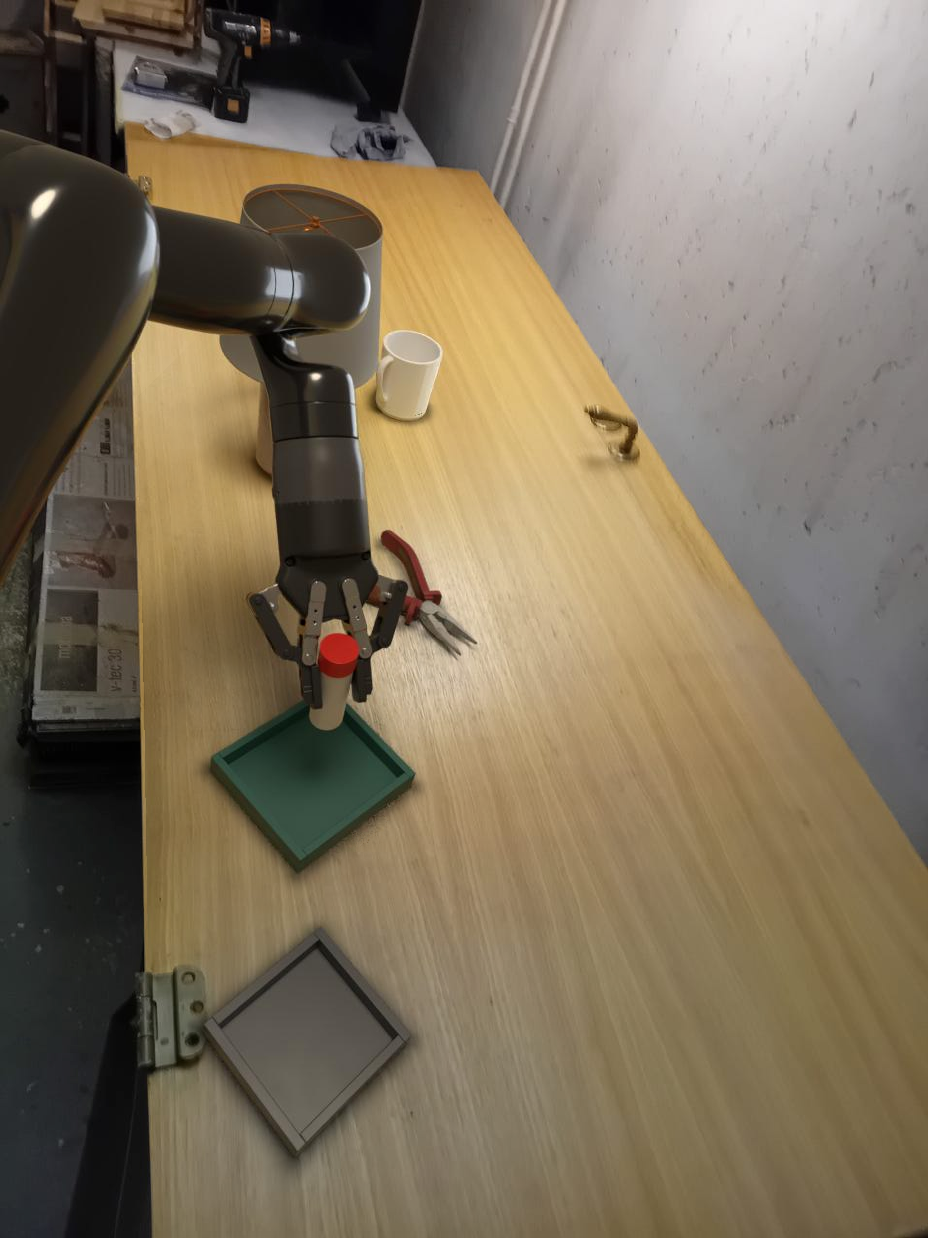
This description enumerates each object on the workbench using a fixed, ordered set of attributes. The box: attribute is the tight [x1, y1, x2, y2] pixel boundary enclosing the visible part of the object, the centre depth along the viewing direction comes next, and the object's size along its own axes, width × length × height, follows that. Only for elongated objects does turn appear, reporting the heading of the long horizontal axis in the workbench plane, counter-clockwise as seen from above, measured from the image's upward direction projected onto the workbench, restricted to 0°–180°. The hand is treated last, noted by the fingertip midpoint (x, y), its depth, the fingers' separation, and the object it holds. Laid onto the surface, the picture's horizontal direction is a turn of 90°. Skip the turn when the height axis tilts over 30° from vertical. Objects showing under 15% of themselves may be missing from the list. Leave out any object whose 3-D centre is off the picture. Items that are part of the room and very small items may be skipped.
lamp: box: [218, 183, 384, 479], centre depth 100 cm, size 19×19×34 cm
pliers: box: [366, 529, 478, 657], centre depth 100 cm, size 12×20×3 cm, turn 46°
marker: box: [309, 632, 359, 730], centre depth 70 cm, size 3×3×10 cm
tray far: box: [209, 700, 417, 874], centre depth 81 cm, size 15×14×3 cm
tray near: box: [202, 926, 413, 1159], centre depth 65 cm, size 12×12×3 cm
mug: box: [375, 329, 444, 422], centre depth 123 cm, size 11×9×10 cm
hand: (338, 703), depth 69 cm, fingers closed on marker, 3 cm apart
